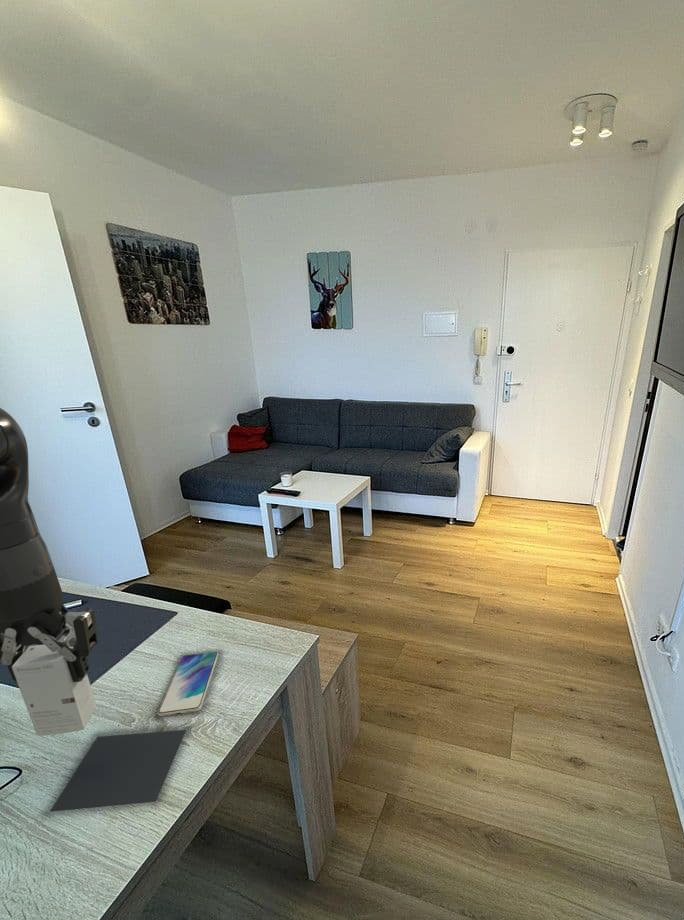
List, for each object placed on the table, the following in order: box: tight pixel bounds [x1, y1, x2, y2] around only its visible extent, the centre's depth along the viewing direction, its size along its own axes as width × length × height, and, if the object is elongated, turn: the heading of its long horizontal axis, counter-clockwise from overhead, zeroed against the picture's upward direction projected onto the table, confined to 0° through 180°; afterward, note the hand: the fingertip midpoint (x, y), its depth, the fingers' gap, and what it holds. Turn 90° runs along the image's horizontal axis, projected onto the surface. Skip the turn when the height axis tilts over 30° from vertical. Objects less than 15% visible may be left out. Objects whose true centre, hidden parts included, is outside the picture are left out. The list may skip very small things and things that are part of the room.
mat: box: [49, 729, 187, 812], centre depth 66 cm, size 14×12×1 cm
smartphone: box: [157, 651, 219, 717], centre depth 82 cm, size 7×1×15 cm
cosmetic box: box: [12, 643, 98, 737], centre depth 59 cm, size 6×4×12 cm
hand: (54, 679), depth 59 cm, fingers closed on cosmetic box, 6 cm apart
